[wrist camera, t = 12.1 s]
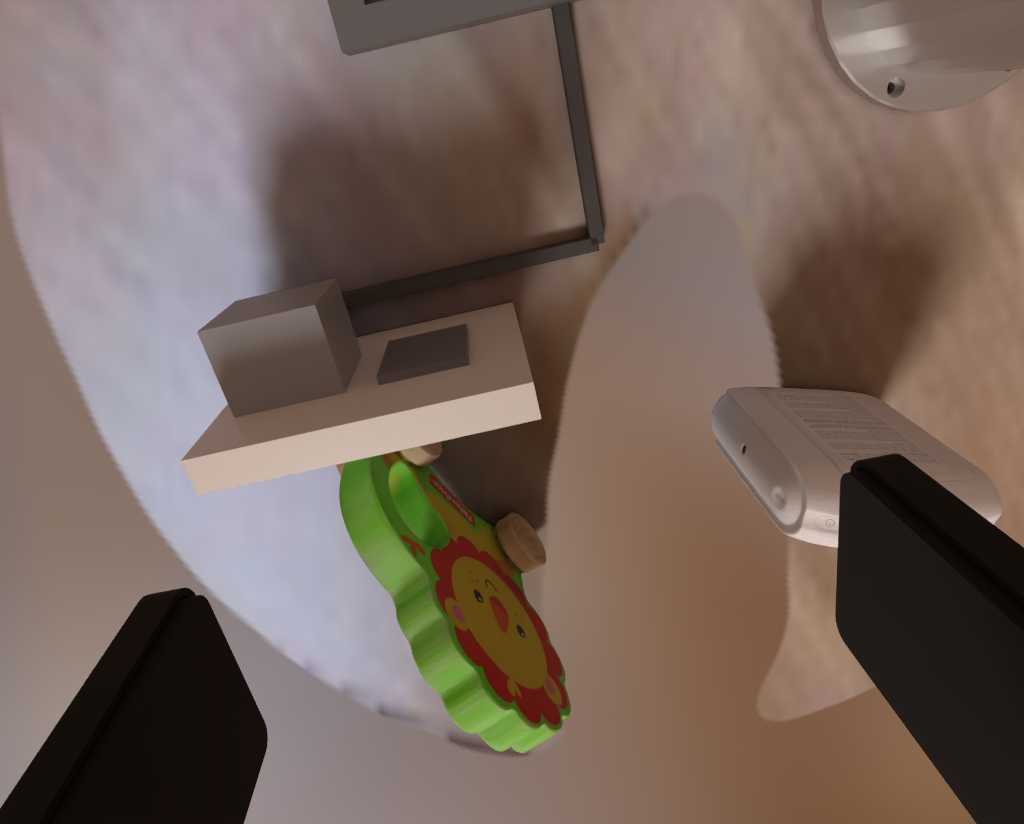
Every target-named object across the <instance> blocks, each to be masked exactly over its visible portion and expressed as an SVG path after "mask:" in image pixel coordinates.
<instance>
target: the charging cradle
mask: <svg viewBox="0 0 1024 824" xmlns="http://www.w3.org/2000/svg"><path fill="white" fill-rule="evenodd" d="M576 1H580V0H328V4H329V7H330V11H331V14H332V18H333V21H334V25H335V28H336V32H337V36H338V39H339V43H340V46H341V50H342V52H343V53H345V54H347V55H349V56H350V55H354V54H359V53H363V52H367V51H371V50H375V49H380V48H384V47H388V46H392V45H396V44H400V43H405V42H409V41H413V40H417V39H421V38H425V37H430V36H434V35H438V34H442V33H446V32H451V31H455V30H459V29H463V28H467V27H471V26H476V25H480V24H484V23H488V22H492V21H496V20H501V19H505V18H509V17H513V16H517V15H521V14H526V13H530V12H534V11H538V10H542V9H547V8H551V7H552V6H553V5H555V4H560V3H564V2H568V3H572V2H576Z"/></svg>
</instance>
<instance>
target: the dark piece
mask: <svg viewBox="0 0 1024 824" xmlns="http://www.w3.org/2000/svg"><path fill="white" fill-rule="evenodd" d="M551 9H552V15H553V22H554V28H555V34H556V40H557V46H558V52H559V59H560V65H561V71H562V77H563V83H564V89H565V96H566V102H567V108H568V114H569V120H570V126H571V133H572V139H573V145H574V151H575V157H576V163H577V170H578V176H579V182H580V188H581V194H582V200H583V207H584V213H585V219H586V225H587V231H588V237H584V238H579V239H575V240H571V241H566V242H562V243H558V244H553V245H549V246H544V247H540V248H536V249H531V250H527V251H523V252H518V253H514V254H510V255H505V256H501V257H496V258H492V259H488V260H483V261H479V262H475V263H470V264H466V265H462V266H457V267H453V268H449V269H444V270H440V271H435V272H431V273H427V274H422V275H418V276H414V277H409V278H405V279H401V280H396V281H392V282H387V283H383V284H379V285H374V286H370V287H366V288H361V289H357V290H353V291H348V292H344V293H342V296H343V299H344V302H345V305H346V308H350V307H354V306H359V305H363V304H367V303H372V302H376V301H380V300H385V299H389V298H394V297H398V296H402V295H407V294H411V293H415V292H420V291H424V290H429V289H433V288H437V287H442V286H446V285H450V284H455V283H459V282H464V281H468V280H472V279H477V278H481V277H485V276H490V275H494V274H498V273H503V272H507V271H512V270H516V269H520V268H525V267H529V266H533V265H538V264H542V263H547V262H551V261H555V260H560V259H564V258H568V257H573V256H577V255H582V254H586V253H590V252H595V251H599V245H598V244H600V243H604V242H605V240H604V233H603V227H602V220H601V214H600V207H599V201H598V194H597V188H596V181H595V174H594V168H593V161H592V155H591V148H590V142H589V135H588V129H587V122H586V115H585V109H584V102H583V96H582V89H581V83H580V76H579V70H578V63H577V56H576V50H575V43H574V37H573V30H572V24H571V17H570V11H569V4H568V2H564V3H560V4H555V5H553V6H552V7H551Z"/></svg>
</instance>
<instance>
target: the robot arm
mask: <svg viewBox="0 0 1024 824" xmlns="http://www.w3.org/2000/svg"><path fill="white" fill-rule="evenodd" d="M813 8H814V15H815V22H816V29H817V32H818V35H819V38H820V41H821V44H822V47H823V49H824V52H825V55H826V56H827V58H828V60H829V61H830V63H831V65H832V66H833V68H834V70H835V71H836V73H837V75H838V76H839V77H840V78H841V79H842V80H843V81H844V82H845V83H846V84H847V85H848V86H849V87H850V88H851V89H852V90H853V91H854V92H855V93H857V94H858V95H860V96H862V97H863V98H865V99H866V100H868V101H870V102H871V103H873V104H876V105H879V106H882V107H885V108H888V109H891V110H898V111H910V112H924V111H939V110H944V109H948V108H952V107H957V106H961V105H964V104H966V103H968V102H971V101H973V100H975V99H977V98H980V97H982V96H984V95H986V94H988V93H989V92H991V91H993V90H994V89H996V88H997V87H999V86H1000V85H1002V84H1003V83H1005V82H1007V81H1008V80H1010V79H1011V78H1012V77H1013V76H1014V75H1015V74H1016V73H1017V72H1019V71H1020V70H1021V69H1024V0H813ZM888 84H889V86H890V88H889V91H888V92H887V87H888ZM836 623H837V627H838V630H839V633H840V635H841V637H842V639H843V641H844V643H845V644H846V645H847V647H848V648H849V650H850V651H851V652H852V654H853V655H854V656H855V658H856V659H857V661H858V662H859V663H860V665H861V666H862V667H863V669H864V670H865V671H866V673H867V674H868V676H869V677H870V678H871V680H872V681H873V682H874V684H875V685H876V687H877V688H878V689H879V690H880V692H881V693H882V695H883V696H884V697H885V699H886V700H887V701H888V703H889V704H890V706H891V707H892V708H893V710H894V711H895V713H896V714H897V715H898V717H899V718H900V719H901V720H902V722H903V723H904V725H905V726H906V728H907V729H908V730H909V732H910V733H911V734H912V736H913V737H914V738H915V740H916V741H917V743H918V744H919V745H920V747H921V748H922V749H923V751H924V752H925V754H926V755H927V756H928V757H929V759H930V760H931V762H932V763H933V764H934V766H935V767H936V769H937V770H938V771H939V773H940V774H941V775H942V777H943V778H944V779H945V781H946V782H947V784H948V785H949V786H950V788H951V789H952V790H953V792H954V793H955V795H956V796H957V797H958V799H959V800H960V801H961V803H962V804H963V805H964V807H965V808H966V810H967V811H968V812H969V814H970V815H971V816H972V818H973V819H974V820H975V822H976V823H977V824H1024V548H1023V547H1022V546H1021V545H1019V544H1018V543H1017V542H1015V541H1014V540H1013V539H1012V538H1010V537H1009V536H1008V535H1006V534H1005V533H1004V532H1002V531H1001V530H1000V529H998V528H997V527H996V526H994V525H993V524H992V523H991V522H989V521H988V520H987V519H985V518H984V517H983V516H981V515H980V514H979V513H977V512H976V511H975V510H974V509H972V508H971V507H970V506H968V505H967V504H966V503H964V502H963V501H962V500H960V499H959V498H958V497H956V496H955V495H954V494H953V493H951V492H950V491H949V490H947V489H946V488H945V487H943V486H942V485H941V484H939V483H938V482H937V481H936V480H934V479H933V478H932V477H930V476H929V475H928V474H926V473H925V472H924V471H922V470H921V469H920V468H918V467H917V466H916V465H915V464H913V463H912V462H911V461H909V460H908V459H907V458H905V457H904V456H902V455H900V454H889V455H883V456H878V457H873V458H868V459H862V460H857V461H856V462H854V463H853V464H852V466H851V469H850V472H848V473H845V474H843V475H842V477H841V481H840V501H839V530H838V559H837V588H836ZM267 740H268V739H267V728H266V725H265V722H264V720H263V718H262V715H261V713H260V711H259V709H258V707H257V705H256V702H255V700H254V698H253V696H252V694H251V692H250V690H249V687H248V685H247V683H246V681H245V679H244V677H243V674H242V672H241V670H240V668H239V666H238V664H237V662H236V659H235V657H234V655H233V653H232V651H231V649H230V647H229V644H228V642H227V640H226V638H225V636H224V634H223V631H222V629H221V627H220V625H219V623H218V621H217V619H216V617H215V615H214V612H213V610H212V608H211V606H210V604H209V602H208V600H207V599H206V598H205V597H204V596H202V595H198V596H196V595H195V593H194V592H193V591H192V590H190V589H189V588H180V589H175V590H170V591H165V592H159V593H154V594H149V595H146V596H144V597H143V598H142V599H141V600H140V601H139V602H138V604H137V605H136V607H135V608H134V610H133V611H132V613H131V614H130V616H129V617H128V619H127V620H126V622H125V623H124V625H123V626H122V628H121V629H120V630H119V632H118V633H117V635H116V636H115V638H114V640H113V641H112V642H111V644H110V646H109V647H108V648H107V650H106V651H105V653H104V655H103V656H102V657H101V659H100V660H99V662H98V664H97V665H96V667H95V668H94V669H93V671H92V672H91V674H90V675H89V677H88V678H87V680H86V681H85V683H84V685H83V686H82V687H81V689H80V690H79V692H78V693H77V695H76V696H75V698H74V699H73V701H72V702H71V704H70V705H69V707H68V709H67V710H66V711H65V713H64V714H63V716H62V717H61V719H60V720H59V722H58V723H57V725H56V726H55V728H54V729H53V731H52V732H51V734H50V735H49V737H48V738H47V740H46V741H45V743H44V744H43V746H42V747H41V749H40V750H39V752H38V753H37V755H36V756H35V758H34V759H33V761H32V762H31V764H30V765H29V767H28V768H27V770H26V771H25V773H24V774H23V776H22V777H21V779H20V780H19V782H18V783H17V785H16V786H15V788H14V789H13V791H12V792H11V794H10V795H9V797H8V798H7V800H6V801H5V802H4V804H3V805H2V807H1V808H0V824H244V820H245V817H246V814H247V811H248V808H249V804H250V801H251V798H252V795H253V792H254V788H255V785H256V782H257V779H258V775H259V772H260V769H261V766H262V762H263V759H264V756H265V753H266V748H267Z"/></svg>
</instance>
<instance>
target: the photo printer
mask: <svg viewBox="0 0 1024 824" xmlns="http://www.w3.org/2000/svg"><path fill="white" fill-rule="evenodd" d="M711 426H712V429H713V432H714V433H715V435H716V437H717V438H716V443H717V445H718V447H719V449H720V450H721V451H722V453H723V454H724V456H725V457H726V458H727V460H728V461H729V463H730V464H731V465H732V467H733V468H734V470H735V471H736V472H737V474H738V475H739V476H740V478H741V479H742V480H743V482H744V483H745V484H746V486H747V487H748V489H749V490H750V491H751V492H752V494H753V495H754V497H755V498H756V499H757V501H758V502H759V504H760V505H761V506H762V507H763V509H764V510H765V511H766V512H767V514H768V515H769V517H770V518H771V519H772V521H773V522H774V523H775V525H776V526H777V527H778V528H779V530H780V531H782V532H783V533H784V534H786V535H788V536H791V537H794V538H797V539H799V540H803V541H806V542H810V543H814V544H819V545H824V546H830V547H837V548H838V530H839V501H840V481H841V477H842V475H843V474H845V473H848V472H850V469H851V466H852V464H853V463H854V462H856V461H857V460H862V459H868V458H873V457H878V456H883V455H889V454H900V455H902V456H904V457H905V458H907V459H908V460H909V461H911V462H912V463H913V464H915V465H916V466H917V467H918V468H920V469H921V470H922V471H924V472H925V473H926V474H928V475H929V476H930V477H932V478H933V479H934V480H936V481H937V482H938V483H939V484H941V485H942V486H943V487H945V488H946V489H947V490H949V491H950V492H951V493H953V494H954V495H955V496H956V497H958V498H959V499H960V500H962V501H963V502H964V503H966V504H967V505H968V506H970V507H971V508H972V509H974V510H975V511H976V512H977V513H979V514H980V515H981V516H983V517H984V518H985V519H987V520H988V521H989V522H991V523H992V524H993V525H994V524H995V522H996V520H997V519H998V518H999V517H1000V516H1001V513H1002V508H1001V502H1000V497H999V494H998V491H997V489H996V487H995V485H994V484H993V482H992V481H991V479H990V478H989V477H988V476H987V474H985V473H984V472H983V471H982V470H980V469H979V468H978V467H976V466H975V465H973V464H972V463H970V462H969V461H967V460H966V459H965V458H963V457H962V456H960V455H959V454H957V453H956V452H955V451H953V450H952V449H950V448H949V447H947V446H946V445H944V444H943V443H942V442H940V441H939V440H937V439H936V438H934V437H933V436H932V435H930V434H929V433H927V432H926V431H924V430H923V429H922V428H920V427H919V426H917V425H916V424H914V423H913V422H912V421H910V420H909V419H907V418H906V417H904V416H903V415H902V414H900V413H899V412H897V411H896V410H895V409H893V408H892V407H890V406H889V405H888V404H886V403H885V402H883V401H882V400H880V399H878V398H876V397H873V396H870V395H866V394H862V393H856V392H848V391H835V390H819V389H798V388H771V387H742V388H733V389H729V390H727V393H726V394H725V395H723V396H722V397H721V398H720V399H719V400H718V402H717V403H716V405H715V407H714V409H713V412H712V416H711Z"/></svg>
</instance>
